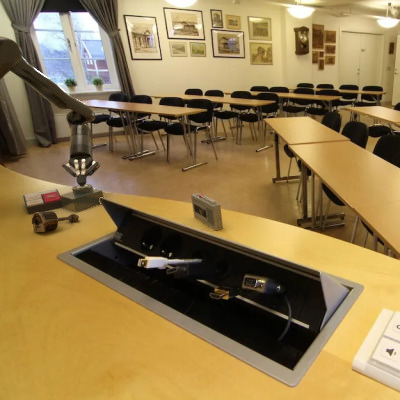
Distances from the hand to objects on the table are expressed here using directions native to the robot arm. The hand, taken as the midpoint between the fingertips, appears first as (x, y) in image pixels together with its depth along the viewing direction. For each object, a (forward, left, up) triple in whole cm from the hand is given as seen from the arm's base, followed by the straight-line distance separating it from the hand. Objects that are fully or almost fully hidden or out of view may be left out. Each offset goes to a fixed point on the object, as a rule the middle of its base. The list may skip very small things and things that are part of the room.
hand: (81, 184), depth 127 cm
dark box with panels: (-9, +13, -8) cm, 18 cm away
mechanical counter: (-17, -13, -8) cm, 23 cm away
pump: (0, 0, -3) cm, 3 cm away
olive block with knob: (-2, -1, -8) cm, 8 cm away
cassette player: (+9, -56, -8) cm, 57 cm away
